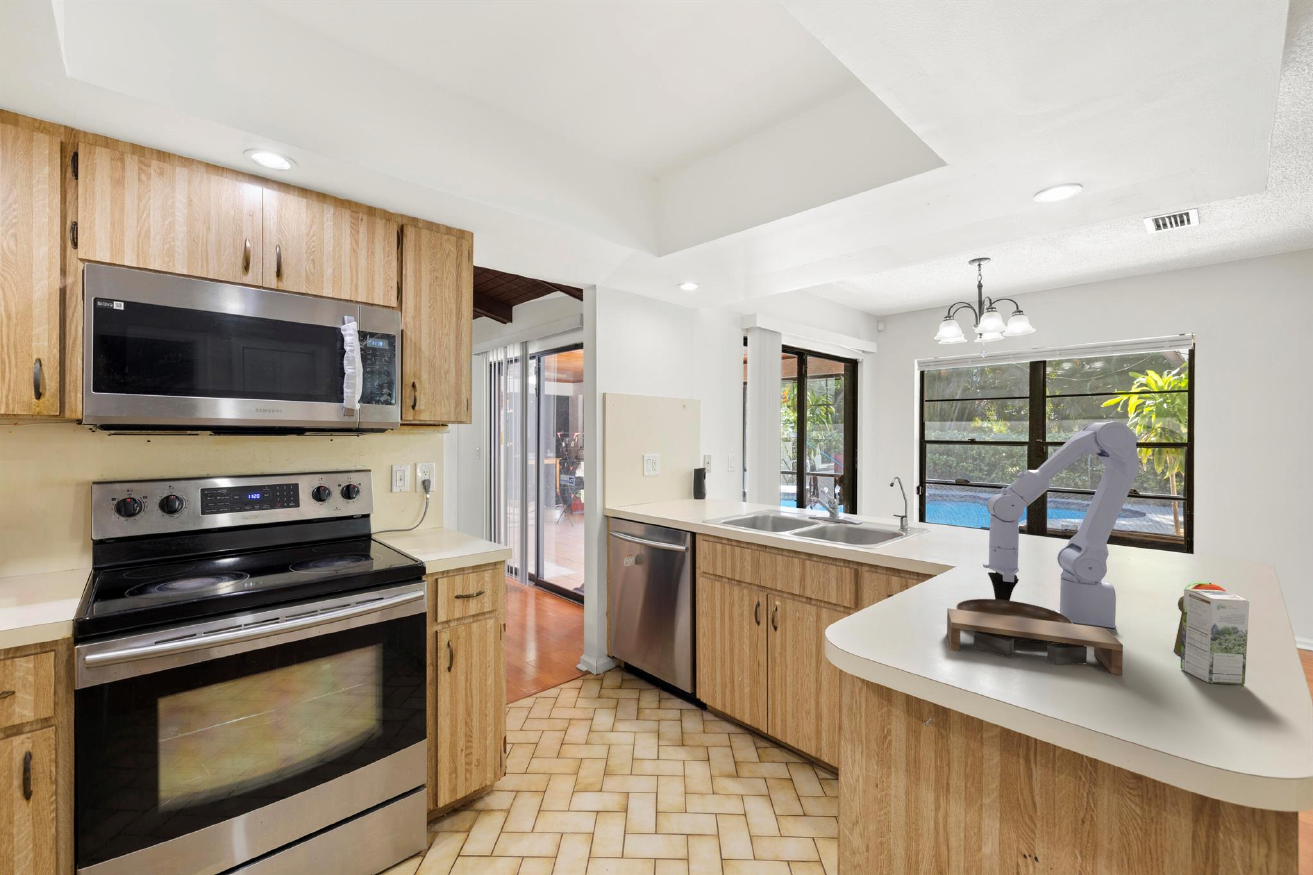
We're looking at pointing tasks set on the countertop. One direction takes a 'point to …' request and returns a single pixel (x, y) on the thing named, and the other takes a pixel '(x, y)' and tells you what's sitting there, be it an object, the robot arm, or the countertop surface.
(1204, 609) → the syrup box
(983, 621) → the walnut shelf
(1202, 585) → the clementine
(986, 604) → the plant saucer
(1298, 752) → the countertop surface
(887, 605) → the countertop surface
